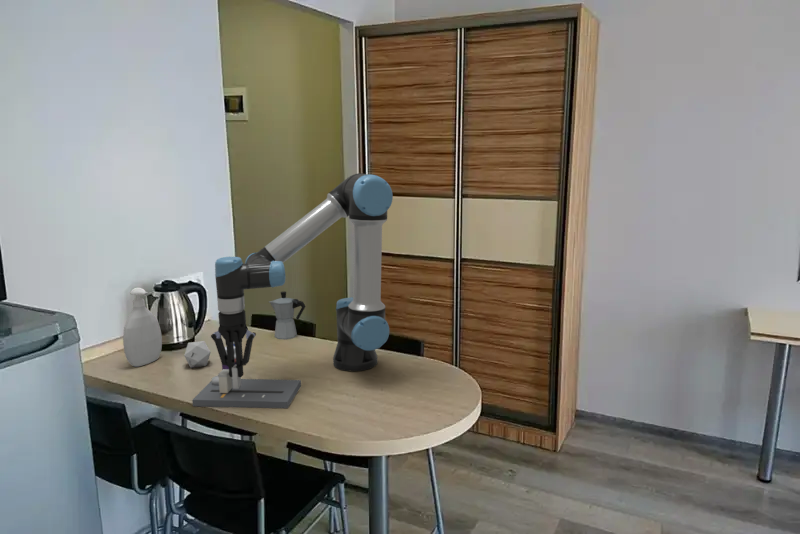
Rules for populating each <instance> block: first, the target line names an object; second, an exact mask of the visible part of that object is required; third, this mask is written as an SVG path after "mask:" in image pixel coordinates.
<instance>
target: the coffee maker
mask: <svg viewBox="0 0 800 534" xmlns="http://www.w3.org/2000/svg"><path fill="white" fill-rule="evenodd" d="M280 296H281V297H279V298H277V299H274V300H271V301H268V303H270V306H271V307H272V309H273V310H274V313H275V318H276V321H275V328H274V329H275V330H274V338H275V339H277V340H291V339H295V338H296V337H297V336H298V334H297V332H298V331H297V329H296V324H295V320H294V315H295V309H296V308H298V307H299V308H300V307H301V308H300V310H299V312H298V313H297V315H296V317H295V319H296V320H297V321H298V320H299V319H300V317H301V315H302V314H303V313H304V310H305V309H306V305H305V303H304V301H302V300H299V299H298V298H290V297H287V291H284V290H283V291H280Z"/></svg>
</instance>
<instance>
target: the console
mask: <svg viewBox="0 0 800 534" xmlns="http://www.w3.org/2000/svg"><path fill="white" fill-rule="evenodd" d="M301 387H302V380H301V379H276V378H275V379H270V378H269V379H267V378H266V379H263V378H241V386H240V387H239V388H238V389H233V378H232V389H231V390H230V391H229V392H228V393H220V390H219V377H218V375H215V376H213V377H212V378H211V380H210V381H209V383H207V385H205V386H204V387H203V389H202V390H200V391H199V392H198V393H197V395H195V396H194V398H192V400H191V401H192V407H205V408H206V407H207V408H208V407H210V408H211V407H213V408H247V409H248V408H249V409H250V408H251V409H252V408H256V409H288V408H289V407H290V405H291V404H292V402H293V400H294V398H295V396H296V395H297V393H298V392H299V390H300V389H301Z"/></svg>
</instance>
